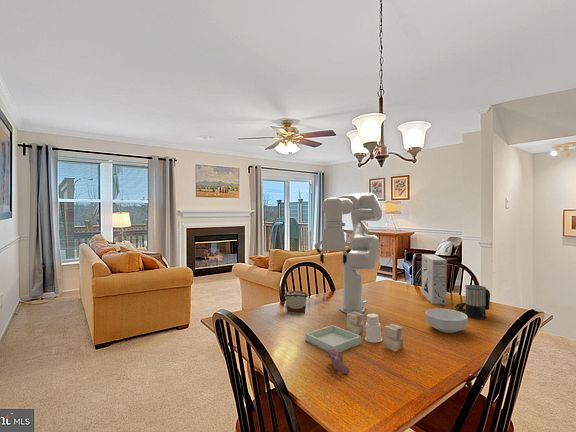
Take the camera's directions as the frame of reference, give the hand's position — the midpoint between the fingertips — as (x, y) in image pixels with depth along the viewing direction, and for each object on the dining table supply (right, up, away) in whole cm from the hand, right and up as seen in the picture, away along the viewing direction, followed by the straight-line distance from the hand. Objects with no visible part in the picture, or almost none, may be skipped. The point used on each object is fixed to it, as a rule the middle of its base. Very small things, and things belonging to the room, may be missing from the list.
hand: (333, 263), depth 144 cm
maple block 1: (+9, -29, -6) cm, 31 cm away
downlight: (+14, -29, -14) cm, 35 cm away
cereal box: (+65, -28, +45) cm, 84 cm away
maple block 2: (+20, -29, -21) cm, 41 cm away
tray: (-2, -29, -16) cm, 33 cm away
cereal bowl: (+49, -29, -3) cm, 57 cm away
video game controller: (-4, -30, -37) cm, 47 cm away
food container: (-16, -28, +22) cm, 40 cm away
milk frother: (+72, -29, +18) cm, 79 cm away
